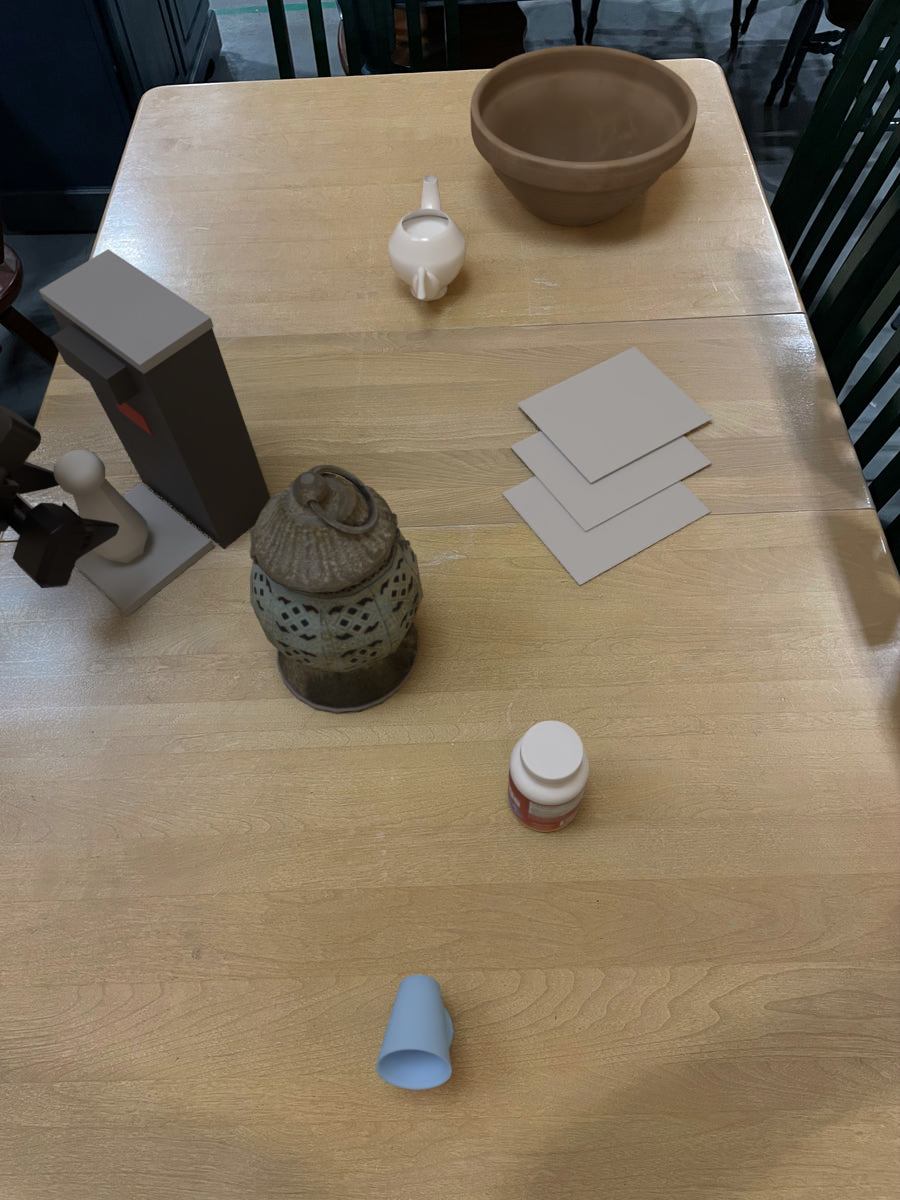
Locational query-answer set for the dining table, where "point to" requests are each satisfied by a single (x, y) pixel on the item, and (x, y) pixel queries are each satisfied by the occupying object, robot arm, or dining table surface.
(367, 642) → the lantern
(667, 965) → the dining table surface
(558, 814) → the pill bottle
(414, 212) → the teapot
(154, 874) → the dining table surface
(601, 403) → the paper stack
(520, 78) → the flower pot
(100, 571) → the coffee maker
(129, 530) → the salt shaker
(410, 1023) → the blue mug
